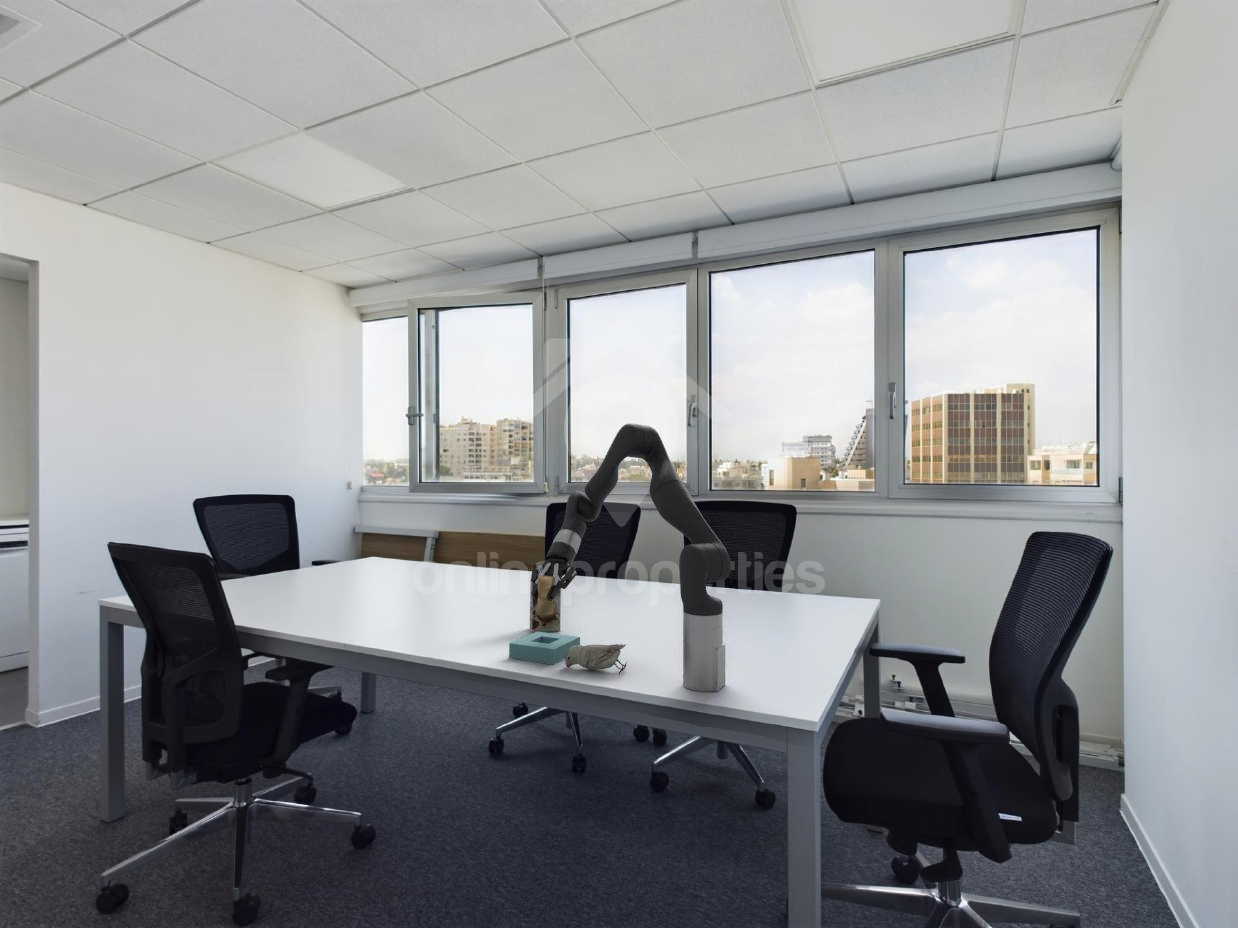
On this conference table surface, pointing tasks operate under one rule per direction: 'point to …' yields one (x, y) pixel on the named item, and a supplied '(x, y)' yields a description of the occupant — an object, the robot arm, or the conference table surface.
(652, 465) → the robot arm
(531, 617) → the coffee box
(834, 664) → the conference table surface
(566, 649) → the socket block
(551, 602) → the peg
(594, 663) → the decorative bird
